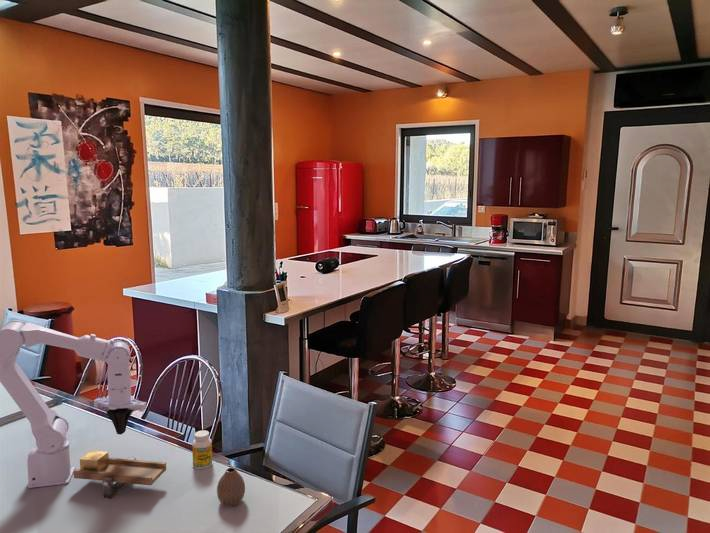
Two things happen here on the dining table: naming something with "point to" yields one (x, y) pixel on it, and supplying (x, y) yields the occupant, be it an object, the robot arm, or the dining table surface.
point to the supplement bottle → (202, 450)
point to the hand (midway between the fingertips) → (121, 432)
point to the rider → (94, 461)
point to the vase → (230, 488)
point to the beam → (126, 471)
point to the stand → (112, 486)
